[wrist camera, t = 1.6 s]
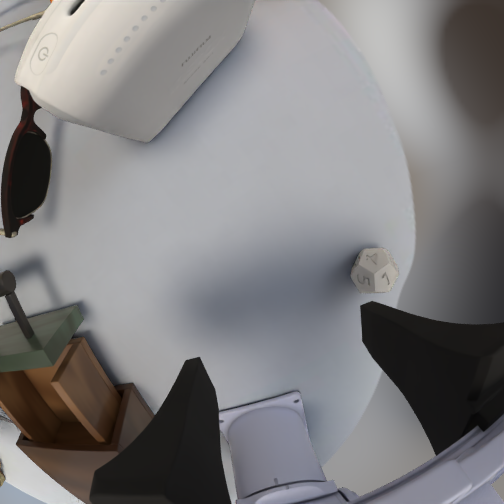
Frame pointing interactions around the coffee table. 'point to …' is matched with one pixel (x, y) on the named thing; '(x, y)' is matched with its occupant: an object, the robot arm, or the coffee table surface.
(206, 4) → the photo printer
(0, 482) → the boat shoe
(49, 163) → the eyeglasses
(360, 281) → the game die
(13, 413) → the drawer
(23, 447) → the cabinet
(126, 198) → the coffee table surface
